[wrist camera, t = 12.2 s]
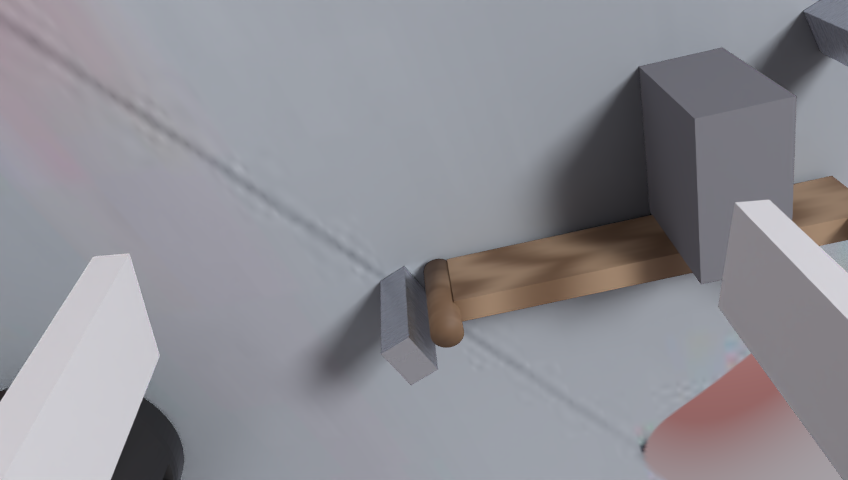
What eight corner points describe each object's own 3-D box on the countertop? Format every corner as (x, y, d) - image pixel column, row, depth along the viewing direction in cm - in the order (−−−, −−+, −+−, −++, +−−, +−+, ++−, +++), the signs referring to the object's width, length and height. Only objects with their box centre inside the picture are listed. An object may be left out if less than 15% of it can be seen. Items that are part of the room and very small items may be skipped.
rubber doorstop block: (649, 210, 49) (701, 284, 42) (638, 66, 45) (694, 118, 37) (724, 194, 49) (790, 265, 41) (722, 47, 44) (796, 96, 36)
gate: (428, 293, 51) (436, 358, 45) (420, 262, 50) (427, 324, 44) (829, 207, 49) (893, 262, 43) (832, 173, 48) (898, 224, 42)
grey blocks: (406, 309, 52) (410, 385, 45) (380, 281, 51) (381, 354, 44) (853, 32, 44) (942, 72, 37) (835, -10, 43) (924, 23, 36)
